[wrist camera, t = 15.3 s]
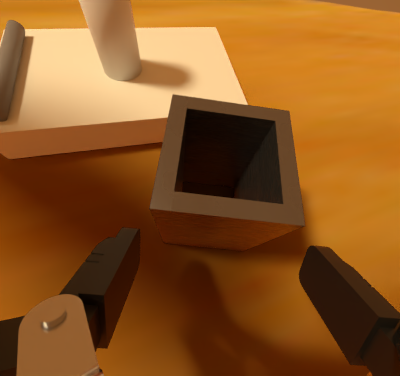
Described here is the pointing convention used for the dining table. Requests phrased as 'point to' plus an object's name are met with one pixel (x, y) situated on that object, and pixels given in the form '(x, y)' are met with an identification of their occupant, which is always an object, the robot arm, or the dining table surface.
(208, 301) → the dining table surface
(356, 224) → the dining table surface
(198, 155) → the hollow square tube
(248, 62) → the dining table surface
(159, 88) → the peg stand
